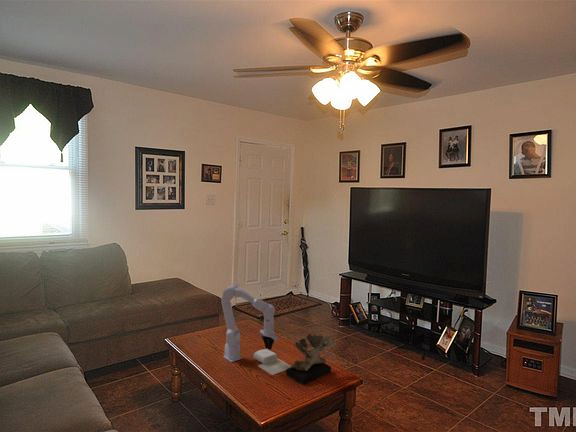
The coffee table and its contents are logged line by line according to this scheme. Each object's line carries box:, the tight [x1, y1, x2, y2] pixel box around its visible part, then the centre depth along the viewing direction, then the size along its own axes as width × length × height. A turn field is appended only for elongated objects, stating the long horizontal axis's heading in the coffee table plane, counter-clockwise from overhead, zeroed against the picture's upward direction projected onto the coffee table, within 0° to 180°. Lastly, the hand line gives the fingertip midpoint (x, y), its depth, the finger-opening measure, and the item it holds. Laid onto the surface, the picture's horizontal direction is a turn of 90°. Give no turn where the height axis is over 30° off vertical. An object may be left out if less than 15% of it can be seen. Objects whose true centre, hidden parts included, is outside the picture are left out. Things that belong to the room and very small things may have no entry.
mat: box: [257, 358, 293, 376], centre depth 216 cm, size 14×15×1 cm
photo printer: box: [253, 348, 279, 364], centre depth 225 cm, size 10×4×12 cm
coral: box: [285, 333, 335, 386], centre depth 207 cm, size 25×20×22 cm
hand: (268, 348), depth 221 cm, fingers closed
